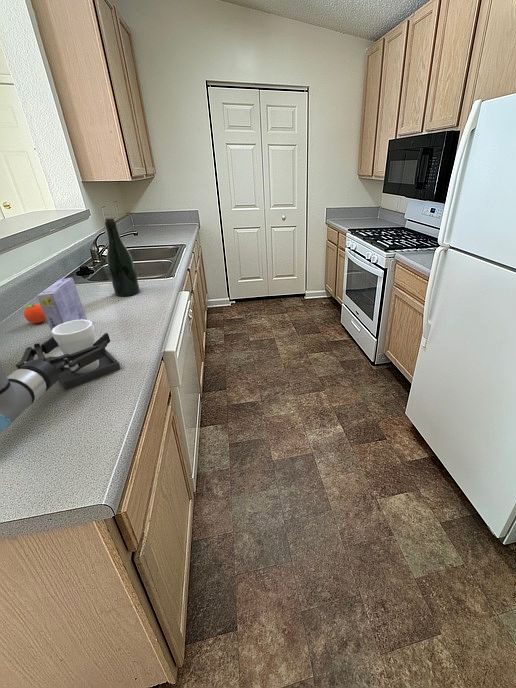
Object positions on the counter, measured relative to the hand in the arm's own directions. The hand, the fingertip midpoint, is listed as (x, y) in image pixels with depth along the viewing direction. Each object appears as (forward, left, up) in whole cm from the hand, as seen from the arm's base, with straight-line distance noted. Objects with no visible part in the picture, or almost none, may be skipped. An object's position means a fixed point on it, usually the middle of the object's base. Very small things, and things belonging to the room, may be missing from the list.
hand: (84, 337), depth 94 cm
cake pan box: (-27, +2, -9) cm, 28 cm away
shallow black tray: (+2, -2, -9) cm, 9 cm away
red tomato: (-47, -5, -9) cm, 48 cm away
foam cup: (+2, -2, -8) cm, 9 cm away
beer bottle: (-55, +31, -9) cm, 64 cm away
